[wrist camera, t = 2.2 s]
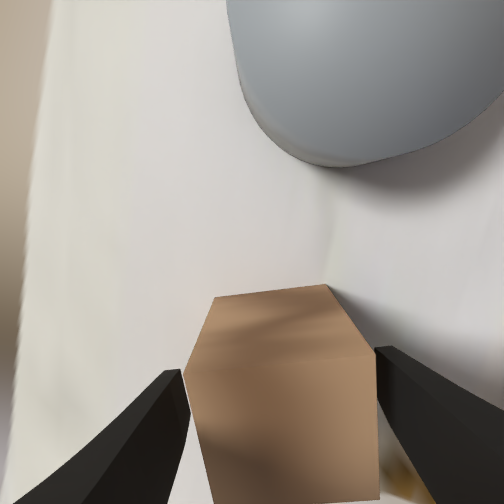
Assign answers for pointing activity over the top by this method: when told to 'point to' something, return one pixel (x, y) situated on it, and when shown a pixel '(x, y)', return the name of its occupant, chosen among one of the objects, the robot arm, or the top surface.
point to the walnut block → (285, 400)
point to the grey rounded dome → (366, 72)
